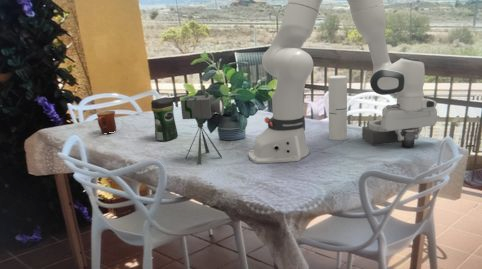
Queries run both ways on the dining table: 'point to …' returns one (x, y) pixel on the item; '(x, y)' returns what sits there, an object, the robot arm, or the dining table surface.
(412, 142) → the lens
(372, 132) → the camera body
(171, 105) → the coffee jar
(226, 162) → the dining table surface
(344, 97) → the cylindrical container
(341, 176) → the dining table surface
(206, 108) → the camera
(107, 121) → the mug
